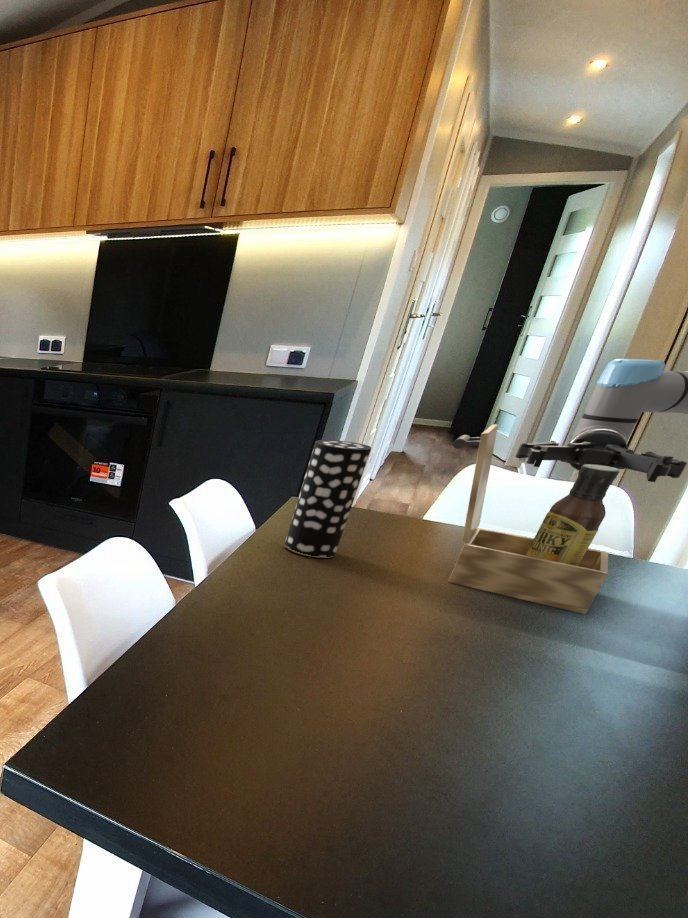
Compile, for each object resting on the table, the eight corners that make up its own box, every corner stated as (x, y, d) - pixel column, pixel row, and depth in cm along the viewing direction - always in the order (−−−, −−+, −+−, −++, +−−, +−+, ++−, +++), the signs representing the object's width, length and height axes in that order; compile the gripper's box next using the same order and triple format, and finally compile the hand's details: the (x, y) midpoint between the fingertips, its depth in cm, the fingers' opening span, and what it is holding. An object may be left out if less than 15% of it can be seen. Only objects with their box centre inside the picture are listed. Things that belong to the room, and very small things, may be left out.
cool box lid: (498, 424, 107) (463, 425, 110) (488, 433, 98) (451, 434, 102) (479, 525, 112) (446, 523, 115) (468, 541, 104) (433, 539, 107)
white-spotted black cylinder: (344, 559, 116) (383, 450, 108) (299, 558, 116) (334, 448, 108) (317, 544, 124) (351, 440, 115) (274, 543, 124) (305, 439, 115)
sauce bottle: (503, 578, 107) (558, 461, 99) (539, 579, 107) (598, 461, 99) (537, 593, 101) (599, 470, 93) (576, 594, 101) (642, 471, 93)
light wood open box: (587, 590, 105) (608, 552, 102) (585, 614, 96) (607, 573, 93) (460, 562, 116) (475, 527, 113) (447, 582, 107) (464, 544, 104)
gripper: (685, 482, 112) (697, 503, 99) (500, 458, 128) (487, 474, 115) (709, 439, 109) (724, 455, 95) (516, 420, 125) (505, 432, 112)
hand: (595, 465), depth 105 cm, fingers open, 13 cm apart
